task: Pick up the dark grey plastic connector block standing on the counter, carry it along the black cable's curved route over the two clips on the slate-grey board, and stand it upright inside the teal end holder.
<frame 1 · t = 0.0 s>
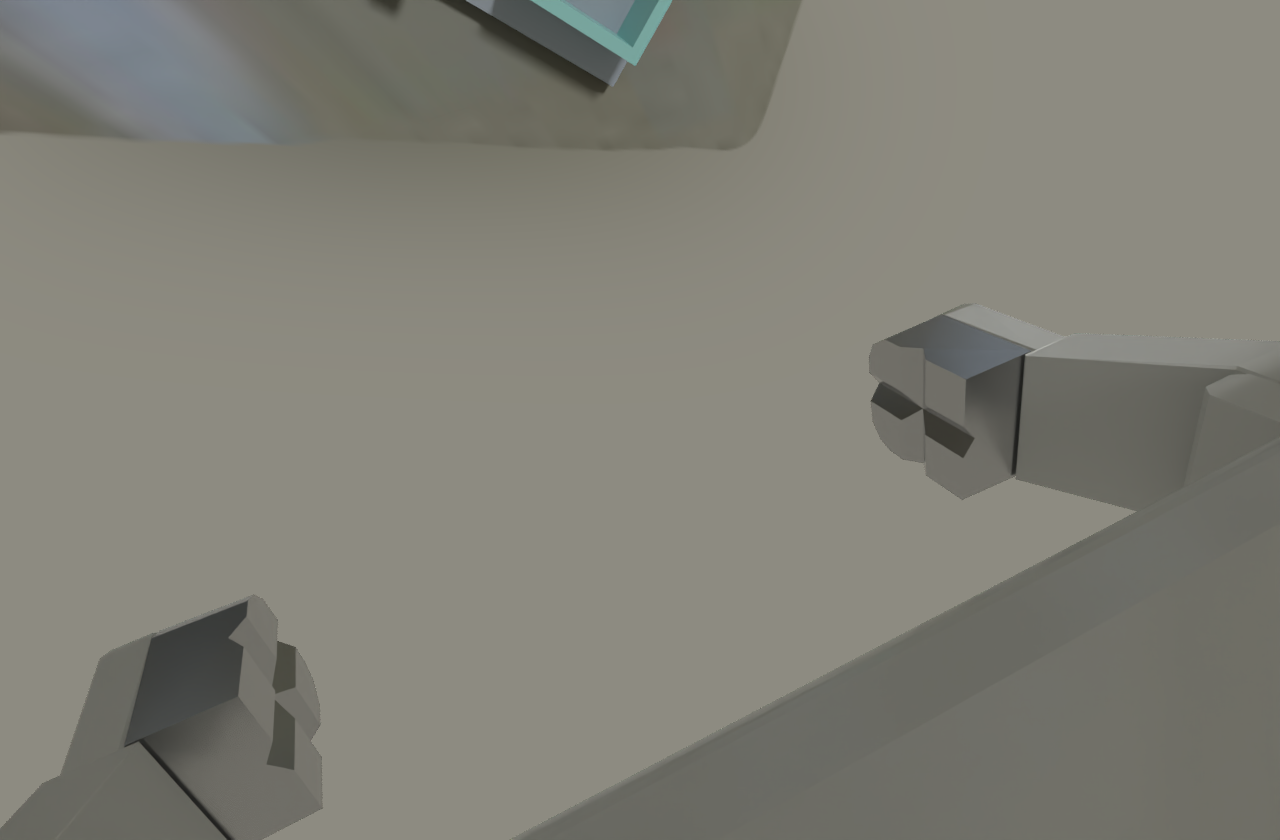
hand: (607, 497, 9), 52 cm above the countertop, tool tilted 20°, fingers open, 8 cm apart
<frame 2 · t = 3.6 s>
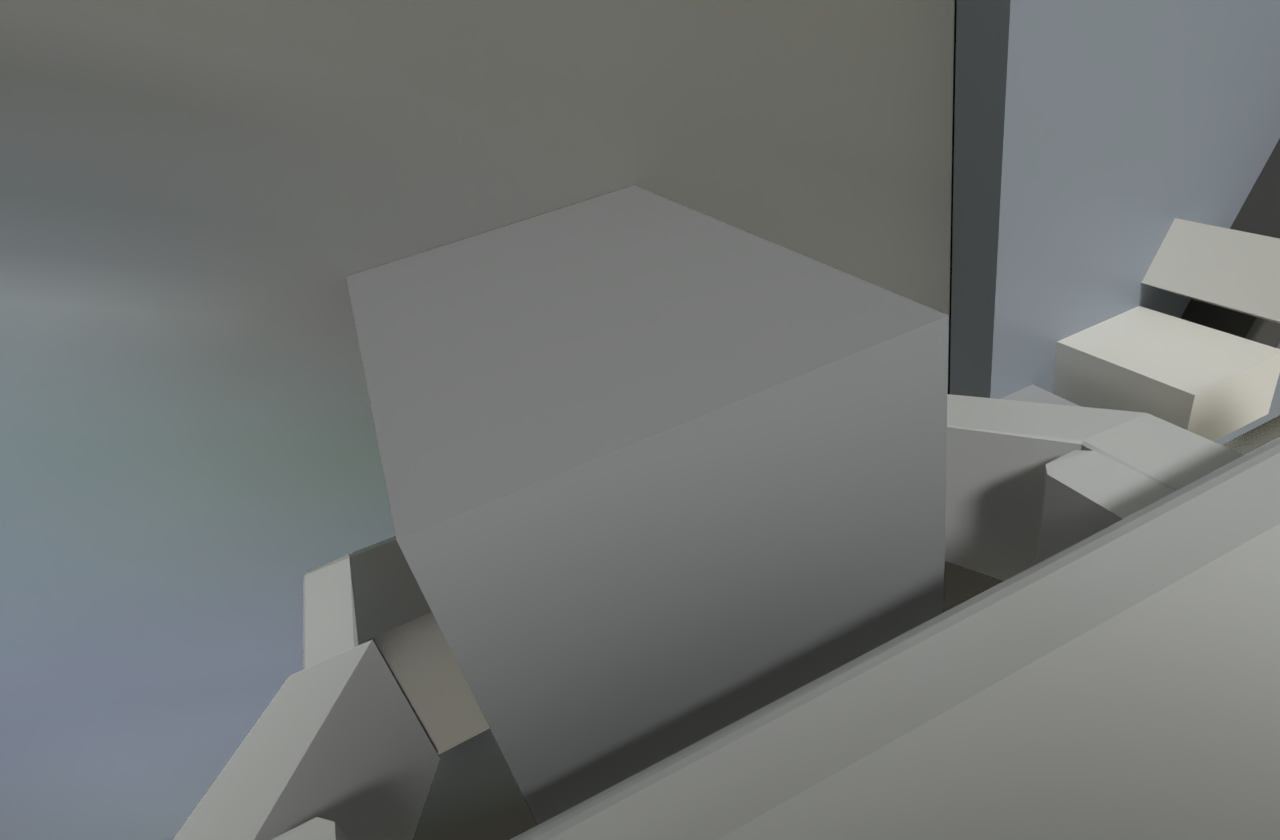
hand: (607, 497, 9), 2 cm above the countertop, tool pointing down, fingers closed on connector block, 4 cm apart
connector block: (555, 418, 11), on the countertop, touching gripper
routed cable: (1216, 269, 13), point 1 cm above the countertop
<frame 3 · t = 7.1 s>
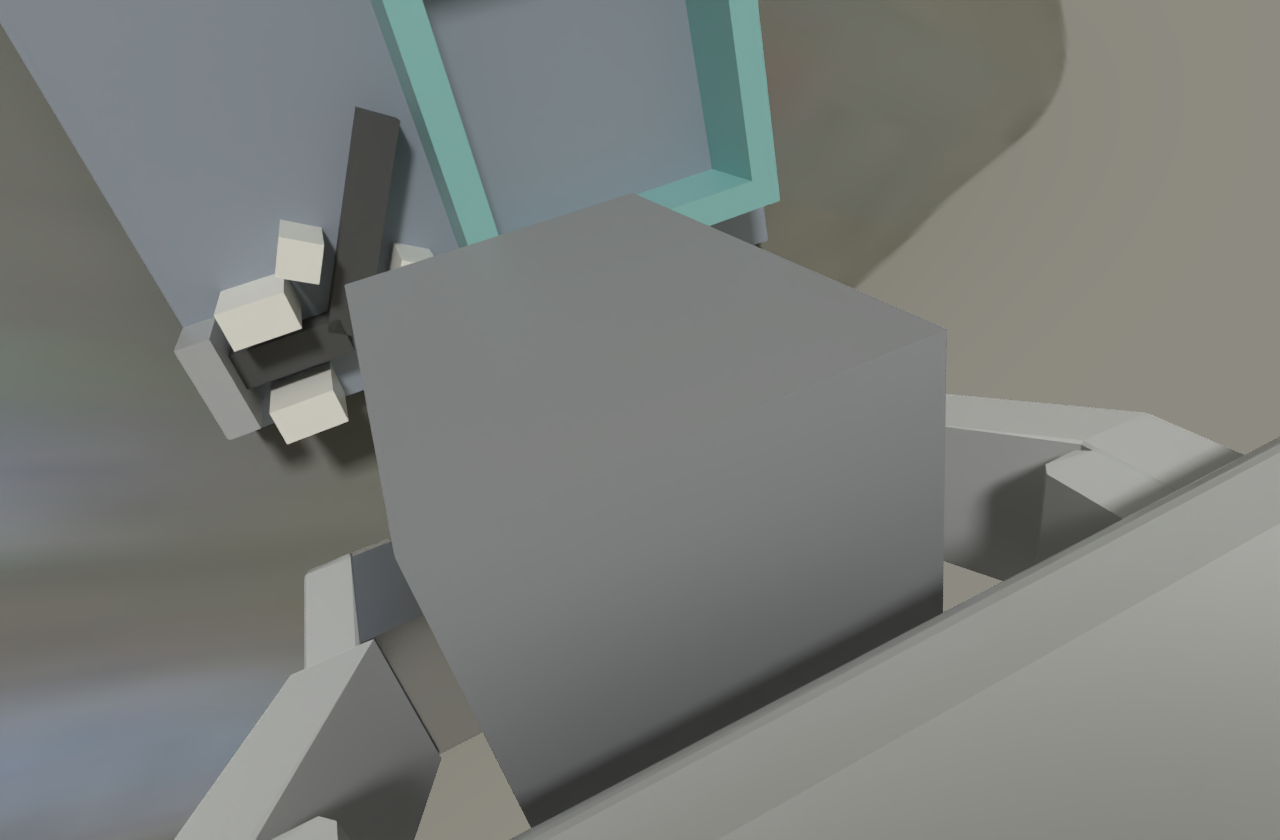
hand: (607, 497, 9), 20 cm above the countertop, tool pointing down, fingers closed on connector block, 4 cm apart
connector block: (554, 425, 11), point 17 cm above the countertop, touching gripper
end holder: (583, 58, 23), point 2 cm above the countertop
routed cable: (308, 248, 23), point 1 cm above the countertop
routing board: (457, 120, 25), on the countertop
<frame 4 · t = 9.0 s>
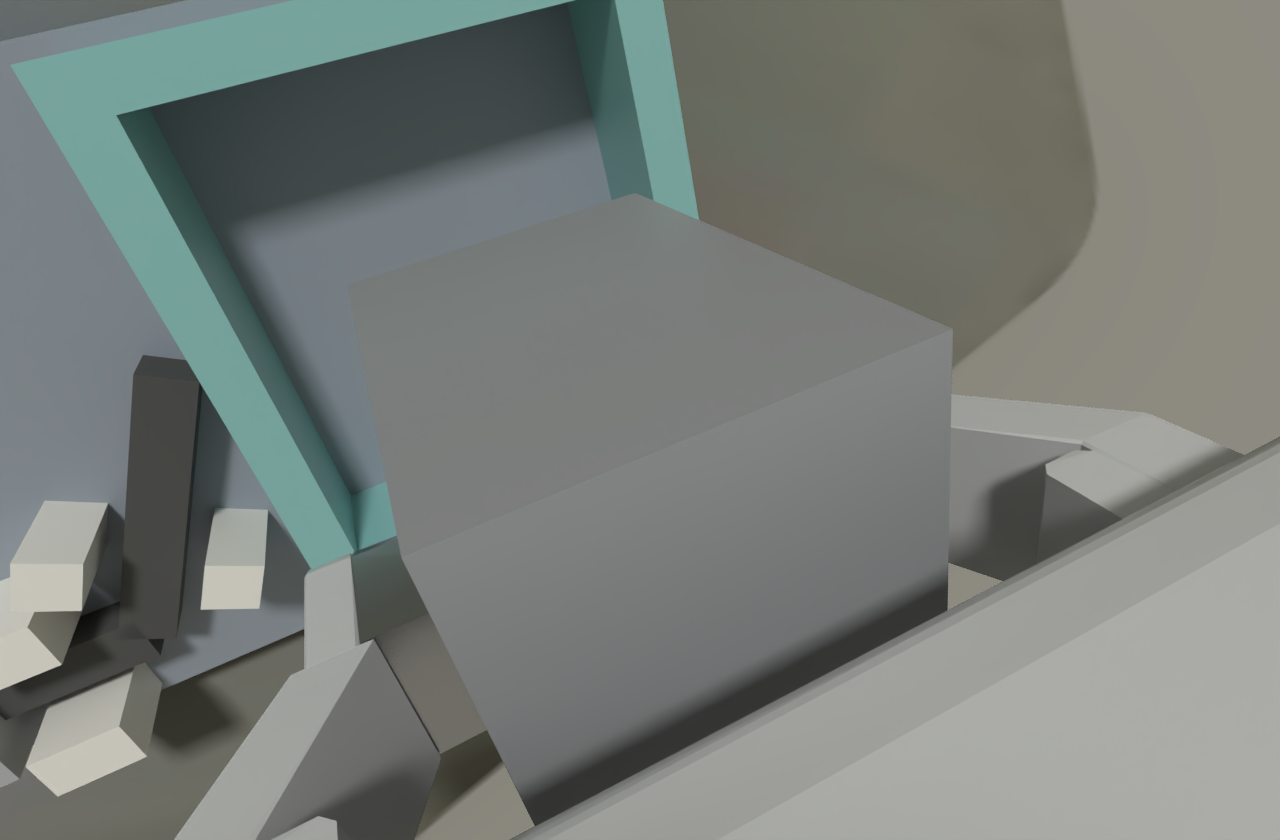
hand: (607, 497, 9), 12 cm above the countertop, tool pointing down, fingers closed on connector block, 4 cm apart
connector block: (557, 425, 11), point 10 cm above the countertop, touching gripper
end holder: (460, 284, 17), point 2 cm above the countertop
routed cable: (84, 538, 17), point 1 cm above the countertop
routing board: (304, 345, 19), on the countertop
when the fingers open (5 cm above the countertop, at t = 10.6 s): connector block drops 2 cm, resting on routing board.
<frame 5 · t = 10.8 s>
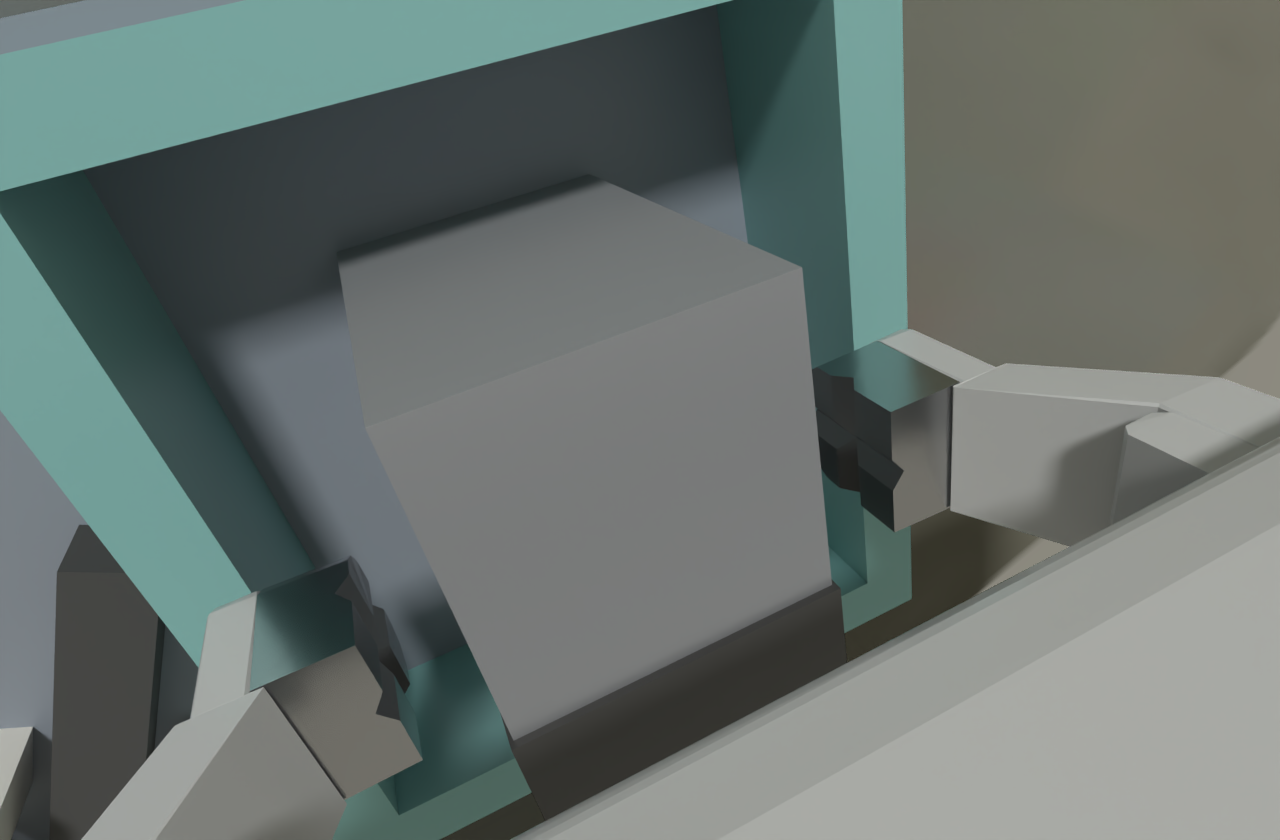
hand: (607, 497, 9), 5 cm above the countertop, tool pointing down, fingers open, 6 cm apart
connector block: (523, 381, 13), point 1 cm above the countertop, touching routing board
end holder: (552, 413, 11), point 2 cm above the countertop
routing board: (319, 483, 13), on the countertop
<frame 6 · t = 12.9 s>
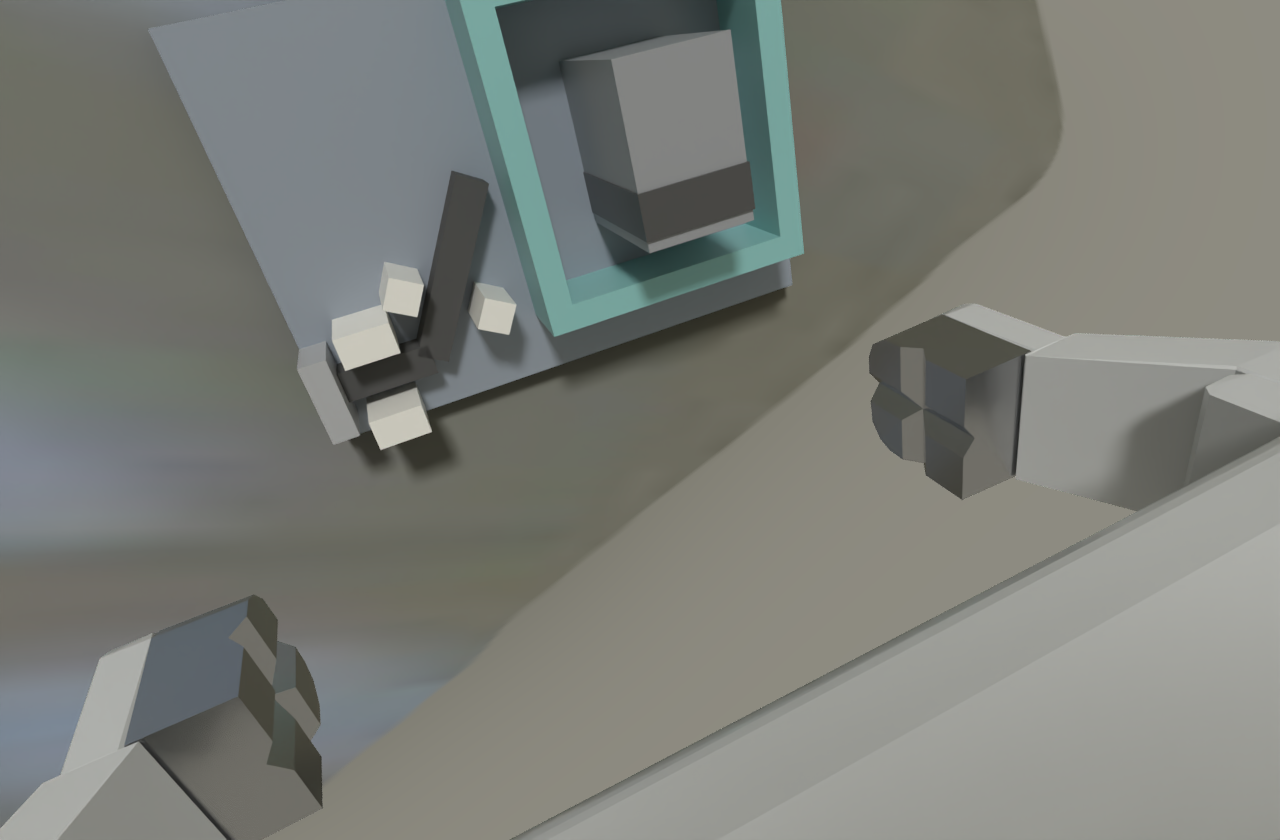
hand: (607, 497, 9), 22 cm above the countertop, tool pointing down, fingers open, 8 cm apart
connector block: (625, 132, 29), point 1 cm above the countertop, touching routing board
end holder: (641, 133, 28), point 2 cm above the countertop
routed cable: (406, 286, 28), point 1 cm above the countertop
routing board: (532, 180, 29), on the countertop
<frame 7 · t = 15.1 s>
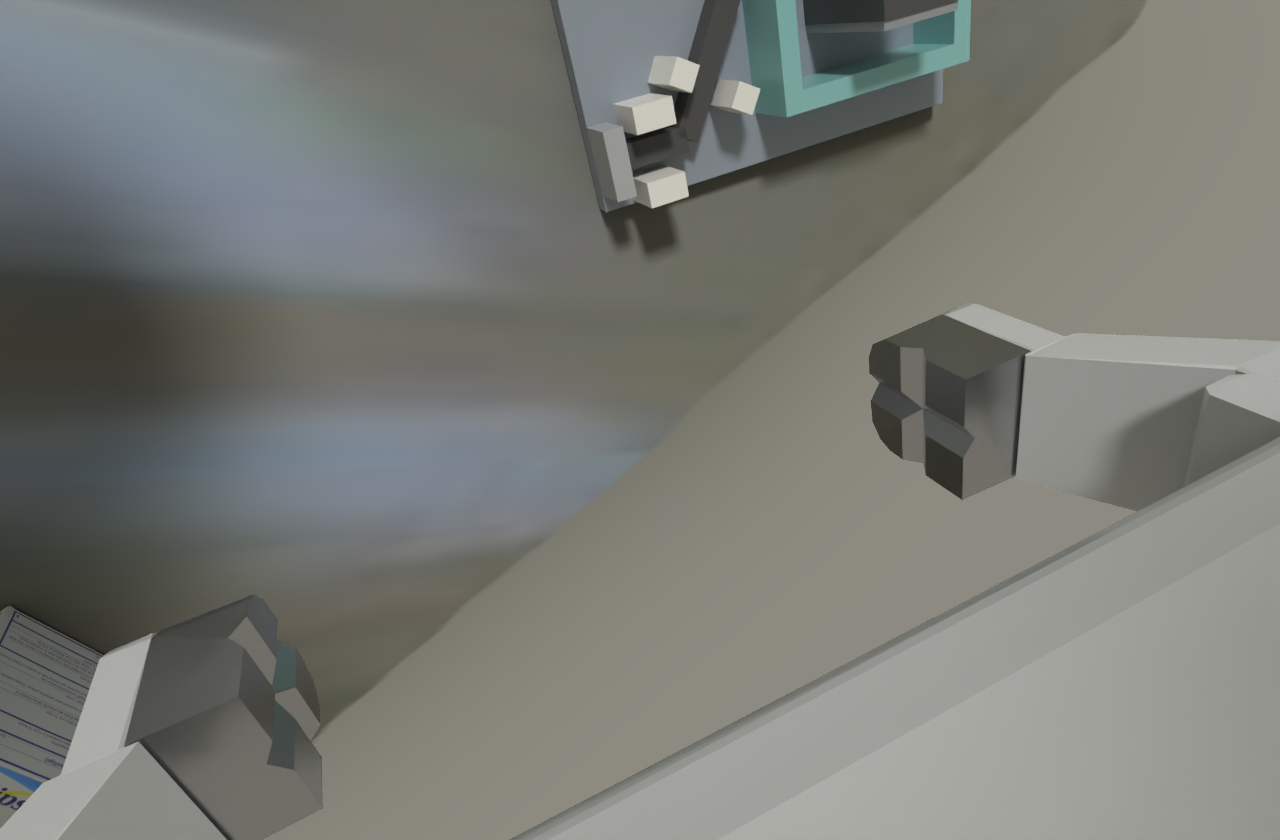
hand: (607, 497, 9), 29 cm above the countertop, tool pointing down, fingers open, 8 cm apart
medicine box: (53, 665, 37), on the countertop
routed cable: (672, 75, 35), point 1 cm above the countertop
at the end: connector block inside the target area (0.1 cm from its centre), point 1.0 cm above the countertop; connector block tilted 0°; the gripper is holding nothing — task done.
